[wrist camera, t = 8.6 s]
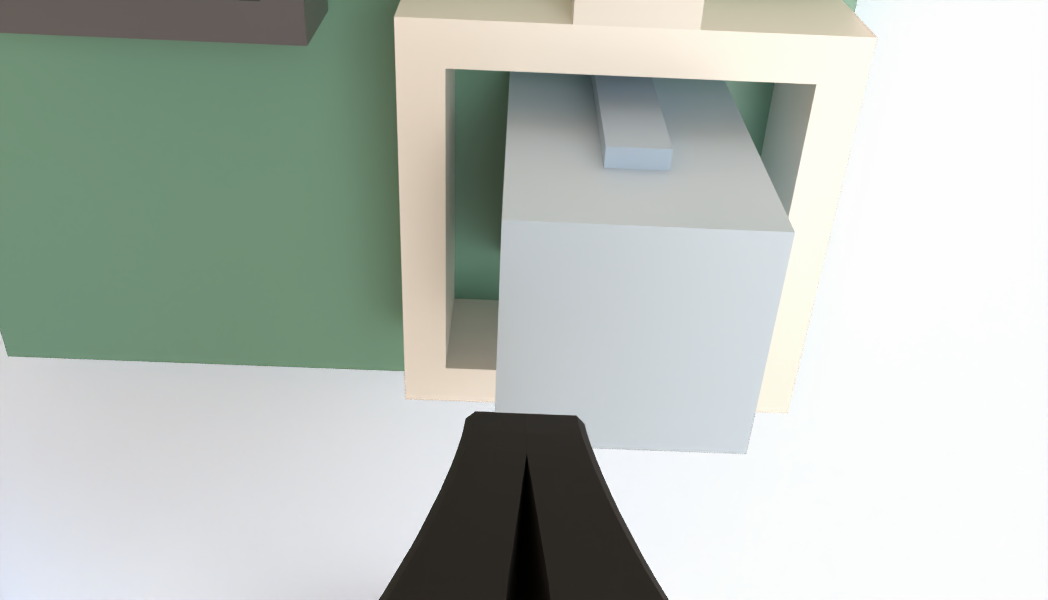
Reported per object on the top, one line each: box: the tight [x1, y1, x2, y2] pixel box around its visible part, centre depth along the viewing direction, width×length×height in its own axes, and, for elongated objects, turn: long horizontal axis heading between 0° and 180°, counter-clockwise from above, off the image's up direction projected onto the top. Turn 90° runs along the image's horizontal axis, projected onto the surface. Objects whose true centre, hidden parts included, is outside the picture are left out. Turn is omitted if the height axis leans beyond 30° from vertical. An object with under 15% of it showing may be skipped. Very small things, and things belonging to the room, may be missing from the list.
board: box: [0, 0, 857, 371], centre depth 19 cm, size 12×17×1 cm
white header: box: [394, 0, 877, 413], centre depth 18 cm, size 8×8×2 cm
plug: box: [495, 71, 795, 454], centre depth 17 cm, size 4×4×6 cm
